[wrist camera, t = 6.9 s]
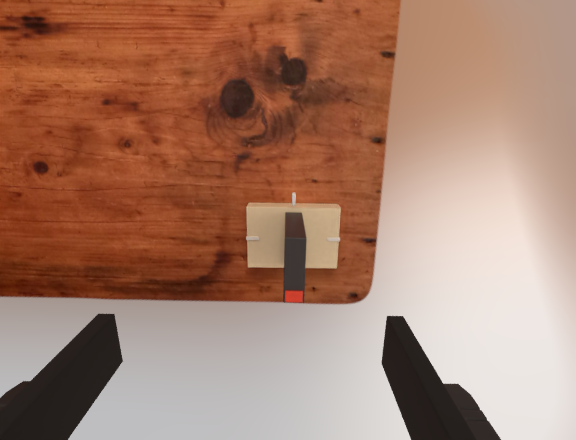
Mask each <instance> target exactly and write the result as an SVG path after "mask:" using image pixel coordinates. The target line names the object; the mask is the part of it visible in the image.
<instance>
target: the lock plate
mask: <svg viewBox="0 0 576 440" xmlns="http://www.w3.org/2000/svg"><path fill="white" fill-rule="evenodd" d="M295 201H296V193H292V203H248V205H247V207H246V212H247V237H246V240H247V253H248V267H265V268H284V248H285V212H297V213H302V215H303V220H304V226H305V232H306V238H307V243H306V266H305V268H337V258H338V243H339V241H340V238H339V227H340V212H341V208H340V207H339V205H338V204H315V203H295Z"/></svg>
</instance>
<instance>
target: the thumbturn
mask: <svg viewBox="0 0 576 440" xmlns="http://www.w3.org/2000/svg"><path fill="white" fill-rule="evenodd" d="M306 243H307V238H306V232H305V226H304V220H303V215H302V213H297V212H285V248H284V294H283V302H295V303H304V289H305V266H306Z"/></svg>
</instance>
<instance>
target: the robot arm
mask: <svg viewBox="0 0 576 440" xmlns="http://www.w3.org/2000/svg"><path fill="white" fill-rule="evenodd" d="M122 361H123V360H122V355H121V349H120V344H119V338H118V332H117V327H116V321H115V316H114V314H98V315H97V316H96V317H95V318H94V319H93V320H92V321H91V322H90V323H89V324H88V325H87V326H86V327H85V328H84V329H83V330H82V331H81V332H80V333H79V334H78V335H77V336H76V337H75V338H74V339H73V340H72V341H71V342H70V343H69V344H68V345H67V346H66V347H65V348H64V349H62V351H60V352H59V353H58V354H57V355H56V357H54V358H53V359H52V360H51V362H49V363H48V364H47V365H46V366H45V367H44V368H43V369H42V370H41V371H40V372H39V373H38V375H36V376H35V377H34V378H33V379H32V380H31V381H23V382H22V383H20V384H18V385H17V386H15V387H14V388H12V389H11V390H9V391H8V392H6V393H5V394H4V395H3V396H2V397H1V398H0V440H68V438H69V437H70V435H71V434H72V432H73V431H74V430H75V428H76V427H77V426H78V424H79V423H80V421H81V420H82V418H83V417H84V416H85V414H86V413H87V411H88V410H89V408H90V407H91V406H92V404H93V403H94V401H95V400H96V399H97V397H98V396H99V394H100V393H101V391H102V390H103V389H104V387H105V386H106V384H107V382H108V381H109V380H110V379H111V377H112V376H113V374H114V373H115V371H116V370H117V369H118V367H119V366H120V364H121V363H122ZM382 365H383V368H384V371H385V373H386V376H387V378H388V381H389V383H390V386H391V389H392V391H393V394H394V396H395V399H396V402H397V404H398V407H399V409H400V412H401V414H402V417H403V419H404V422H405V425H406V427H407V430H408V432H409V435H410V437H411V440H501V439H500V437H499V436H498V434H497V433H496V432H495V430H494V429H493V427H492V426H491V424H490V423H489V422H488V421H487V418H486V417H485V415H484V414H483V412H482V411H481V410H480V408H479V407H478V405H477V403H476V402H475V400H474V399H473V397H472V396H471V395H470V394H469V393H468V392H467V391H466V390H464V389H463V388H462V387H461V386H460V385H459V384H443V383H442V381H441V379H440V378H439V376H438V375H437V373H436V371H435V369H434V368H433V366H432V364H431V363H430V361H429V359H428V358H427V356H426V354H425V353H424V351H423V350H422V347H421V346H420V344H419V342H418V341H417V339H416V338H415V336H414V334H413V332H412V331H411V329H410V327H409V326H408V324H407V322H406V321H405V319H404V317H403V316H387V321H386V330H385V339H384V347H383V357H382Z"/></svg>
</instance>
